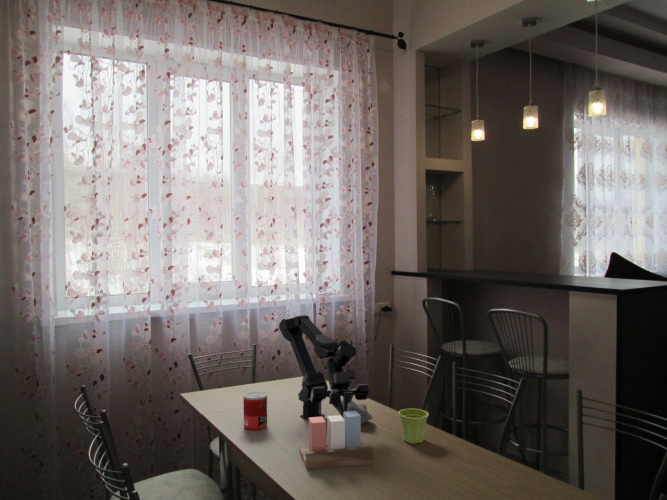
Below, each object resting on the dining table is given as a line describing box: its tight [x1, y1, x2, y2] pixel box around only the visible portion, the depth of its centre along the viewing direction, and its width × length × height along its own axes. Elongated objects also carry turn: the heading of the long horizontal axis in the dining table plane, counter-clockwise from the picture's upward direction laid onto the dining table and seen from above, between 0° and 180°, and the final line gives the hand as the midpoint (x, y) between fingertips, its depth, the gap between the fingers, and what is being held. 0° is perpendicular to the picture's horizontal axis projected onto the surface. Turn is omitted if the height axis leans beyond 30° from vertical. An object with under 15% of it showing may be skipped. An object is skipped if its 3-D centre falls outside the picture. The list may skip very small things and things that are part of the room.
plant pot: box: [398, 408, 429, 445], centre depth 169 cm, size 9×9×9 cm
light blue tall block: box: [342, 411, 362, 448], centre depth 158 cm, size 5×4×10 cm
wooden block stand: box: [299, 441, 374, 471], centre depth 155 cm, size 13×19×4 cm
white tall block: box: [326, 414, 345, 450], centre depth 154 cm, size 5×4×10 cm
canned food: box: [243, 391, 268, 432], centre depth 182 cm, size 8×8×11 cm
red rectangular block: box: [308, 417, 327, 452], centre depth 153 cm, size 5×4×10 cm
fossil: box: [347, 400, 373, 425], centre depth 185 cm, size 11×9×8 cm
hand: (344, 417), depth 167 cm, fingers closed
